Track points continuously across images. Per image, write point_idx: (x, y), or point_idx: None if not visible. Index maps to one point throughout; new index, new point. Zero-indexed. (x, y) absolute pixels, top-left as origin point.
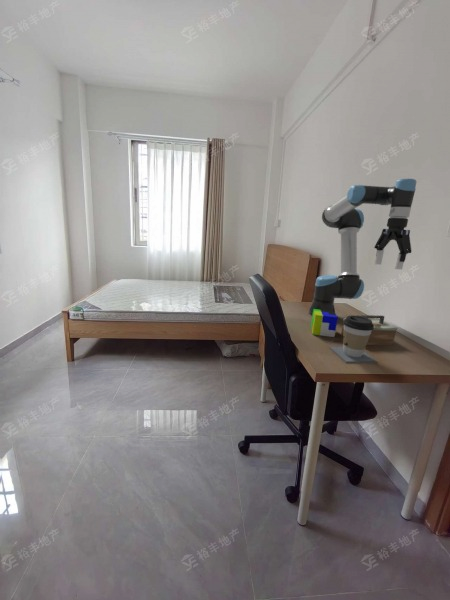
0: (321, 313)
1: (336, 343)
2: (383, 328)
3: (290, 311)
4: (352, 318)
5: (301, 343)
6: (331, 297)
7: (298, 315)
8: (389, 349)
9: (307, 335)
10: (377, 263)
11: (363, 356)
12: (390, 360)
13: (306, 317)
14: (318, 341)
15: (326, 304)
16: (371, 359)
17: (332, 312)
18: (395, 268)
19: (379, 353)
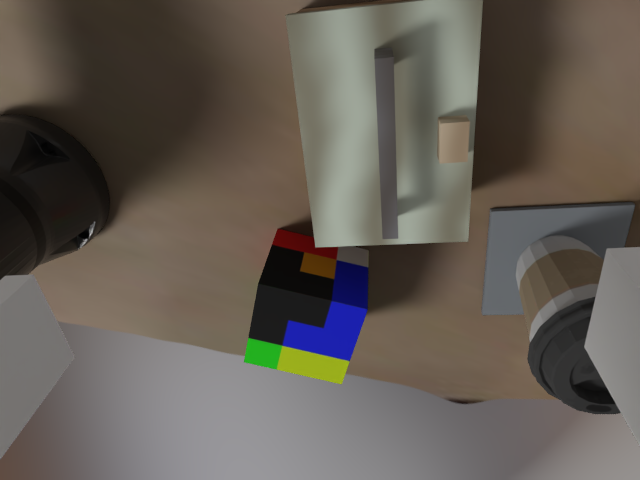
0: (313, 354)
1: (438, 270)
2: (476, 98)
3: (62, 313)
4: (576, 380)
5: (435, 378)
6: (6, 223)
7: (111, 298)
8: (520, 56)
9: (359, 339)
10: (53, 345)
11: (583, 236)
12: (629, 130)
13: (128, 274)
14: (418, 324)
15: (50, 225)
16: (616, 219)
17: (285, 300)
18: (596, 353)
19: (555, 139)
